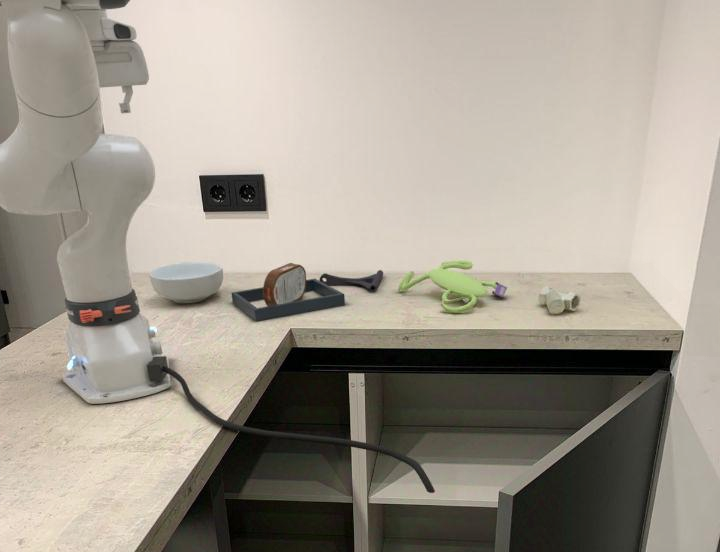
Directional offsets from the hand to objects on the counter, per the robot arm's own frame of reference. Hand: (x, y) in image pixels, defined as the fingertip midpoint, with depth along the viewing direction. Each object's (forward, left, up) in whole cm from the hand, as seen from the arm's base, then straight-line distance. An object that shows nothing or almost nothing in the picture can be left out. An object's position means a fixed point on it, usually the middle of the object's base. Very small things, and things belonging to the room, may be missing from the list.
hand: (101, 115), depth 141 cm
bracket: (+1, -51, -41) cm, 65 cm away
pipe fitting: (-44, -77, -41) cm, 97 cm away
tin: (-6, -32, -41) cm, 52 cm away
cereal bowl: (+12, -14, -41) cm, 45 cm away
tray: (-6, -32, -41) cm, 52 cm away
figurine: (-22, -66, -41) cm, 80 cm away
